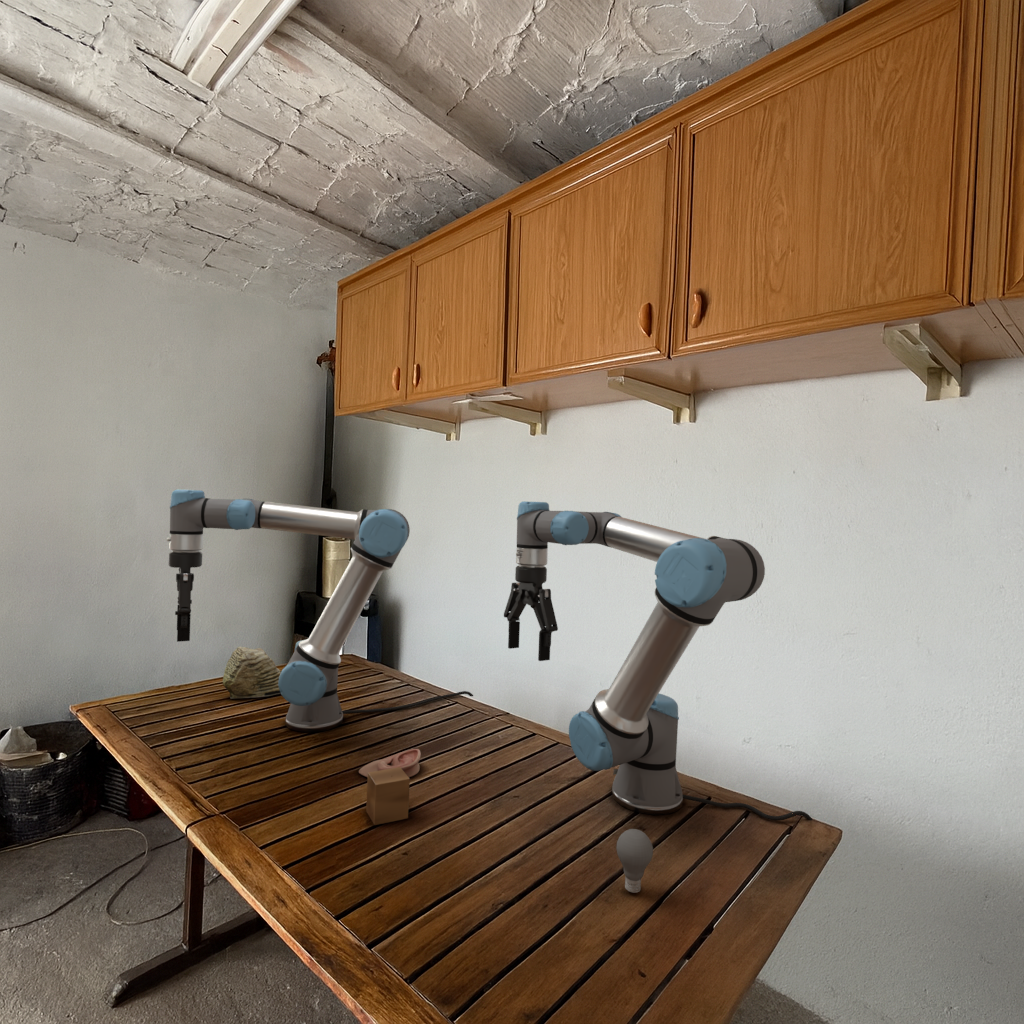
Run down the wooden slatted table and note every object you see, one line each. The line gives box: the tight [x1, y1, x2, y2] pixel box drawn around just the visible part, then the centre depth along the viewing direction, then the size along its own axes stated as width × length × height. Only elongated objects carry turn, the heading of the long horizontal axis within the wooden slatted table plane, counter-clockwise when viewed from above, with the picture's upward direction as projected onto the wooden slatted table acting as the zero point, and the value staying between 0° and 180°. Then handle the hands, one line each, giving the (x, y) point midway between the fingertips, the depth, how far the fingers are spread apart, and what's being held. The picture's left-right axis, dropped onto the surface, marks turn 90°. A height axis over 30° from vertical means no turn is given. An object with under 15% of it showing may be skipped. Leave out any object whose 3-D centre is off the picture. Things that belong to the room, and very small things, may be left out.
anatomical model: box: [358, 748, 422, 779], centre depth 147 cm, size 13×4×12 cm
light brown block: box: [365, 767, 411, 826], centre depth 127 cm, size 6×7×8 cm
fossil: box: [222, 646, 281, 699], centre depth 198 cm, size 9×18×15 cm, turn 132°
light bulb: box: [615, 828, 654, 894], centre depth 106 cm, size 6×6×10 cm
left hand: (182, 635), depth 159 cm, fingers open, 13 cm apart
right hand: (528, 654), depth 152 cm, fingers open, 13 cm apart
